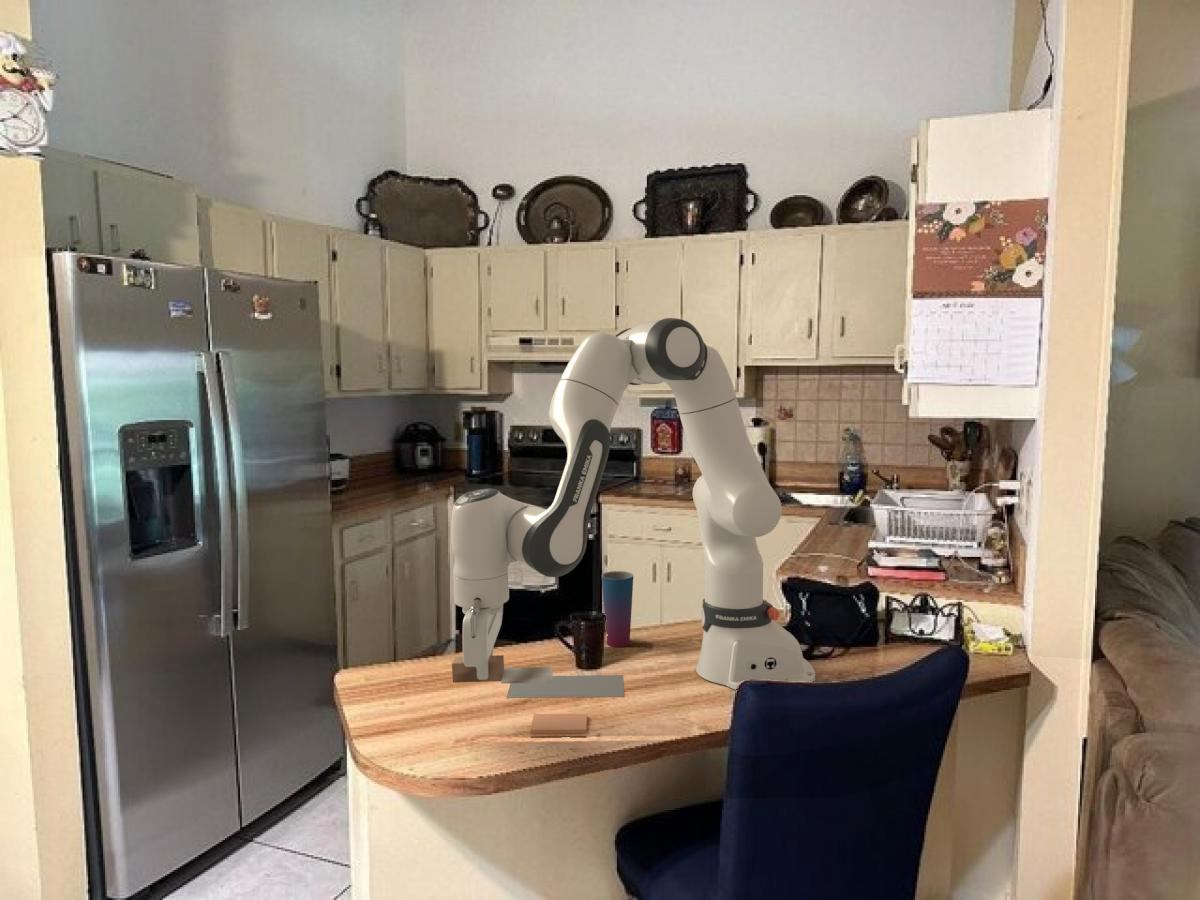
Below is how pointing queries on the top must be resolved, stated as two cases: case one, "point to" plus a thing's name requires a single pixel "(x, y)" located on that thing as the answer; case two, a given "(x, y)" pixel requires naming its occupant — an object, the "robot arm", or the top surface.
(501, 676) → the turner
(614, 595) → the cup
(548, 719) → the tile
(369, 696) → the top surface
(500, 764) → the top surface
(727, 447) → the robot arm
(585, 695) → the rest mat
